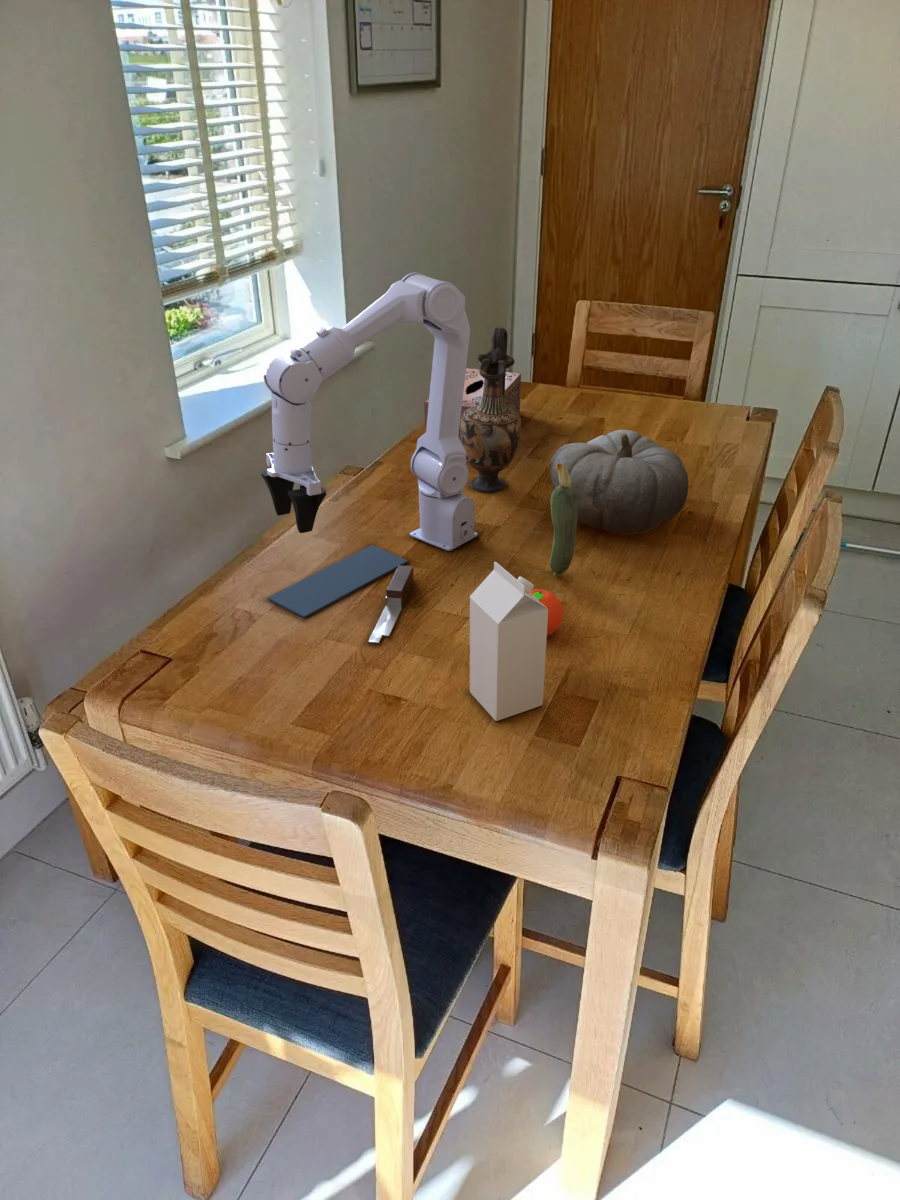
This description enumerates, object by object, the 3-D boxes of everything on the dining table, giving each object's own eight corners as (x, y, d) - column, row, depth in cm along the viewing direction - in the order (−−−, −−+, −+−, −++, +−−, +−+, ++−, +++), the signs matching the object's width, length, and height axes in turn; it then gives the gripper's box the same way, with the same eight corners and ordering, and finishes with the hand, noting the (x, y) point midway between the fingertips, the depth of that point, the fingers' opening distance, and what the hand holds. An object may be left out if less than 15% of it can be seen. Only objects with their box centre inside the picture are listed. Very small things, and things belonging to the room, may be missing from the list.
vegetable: (575, 573, 144) (584, 459, 133) (570, 586, 140) (578, 470, 130) (549, 569, 145) (556, 456, 135) (543, 582, 142) (549, 466, 131)
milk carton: (496, 722, 111) (498, 594, 101) (469, 692, 117) (469, 568, 107) (543, 706, 114) (550, 580, 104) (515, 677, 120) (519, 554, 110)
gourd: (519, 518, 155) (539, 423, 148) (568, 489, 176) (588, 404, 169) (654, 563, 146) (682, 463, 139) (689, 526, 167) (715, 438, 160)
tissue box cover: (488, 453, 189) (488, 408, 184) (425, 445, 193) (424, 401, 188) (519, 414, 210) (521, 373, 204) (462, 408, 214) (462, 367, 209)
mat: (408, 562, 148) (408, 560, 147) (304, 618, 133) (304, 616, 133) (371, 546, 153) (371, 544, 152) (267, 599, 138) (267, 597, 138)
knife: (398, 580, 143) (398, 564, 141) (414, 581, 142) (413, 566, 141) (368, 643, 127) (367, 627, 126) (385, 645, 127) (384, 628, 125)
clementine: (545, 655, 124) (547, 612, 120) (502, 641, 127) (503, 599, 123) (569, 628, 130) (572, 587, 126) (528, 615, 133) (529, 575, 129)
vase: (451, 492, 172) (450, 337, 156) (474, 468, 182) (475, 321, 166) (508, 501, 168) (512, 343, 152) (528, 477, 178) (534, 326, 162)
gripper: (247, 429, 135) (250, 510, 141) (289, 458, 125) (292, 544, 131) (288, 423, 139) (290, 503, 145) (333, 451, 129) (333, 535, 135)
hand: (294, 522), depth 138 cm, fingers open, 7 cm apart
